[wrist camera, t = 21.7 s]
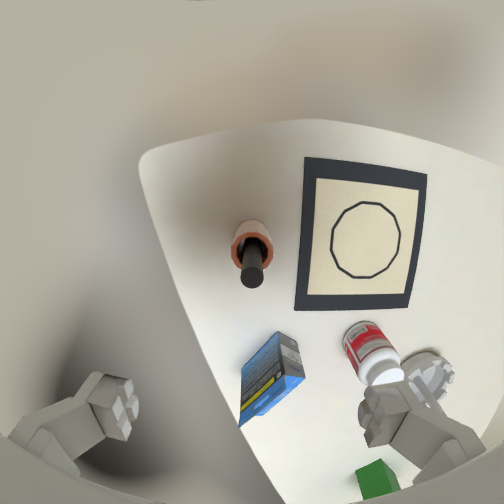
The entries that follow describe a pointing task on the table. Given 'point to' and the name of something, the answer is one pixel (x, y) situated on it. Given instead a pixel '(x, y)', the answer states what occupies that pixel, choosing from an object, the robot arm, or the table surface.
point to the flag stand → (428, 378)
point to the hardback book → (377, 480)
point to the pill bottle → (372, 355)
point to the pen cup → (252, 230)
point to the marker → (252, 263)
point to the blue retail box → (270, 376)
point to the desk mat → (358, 236)
